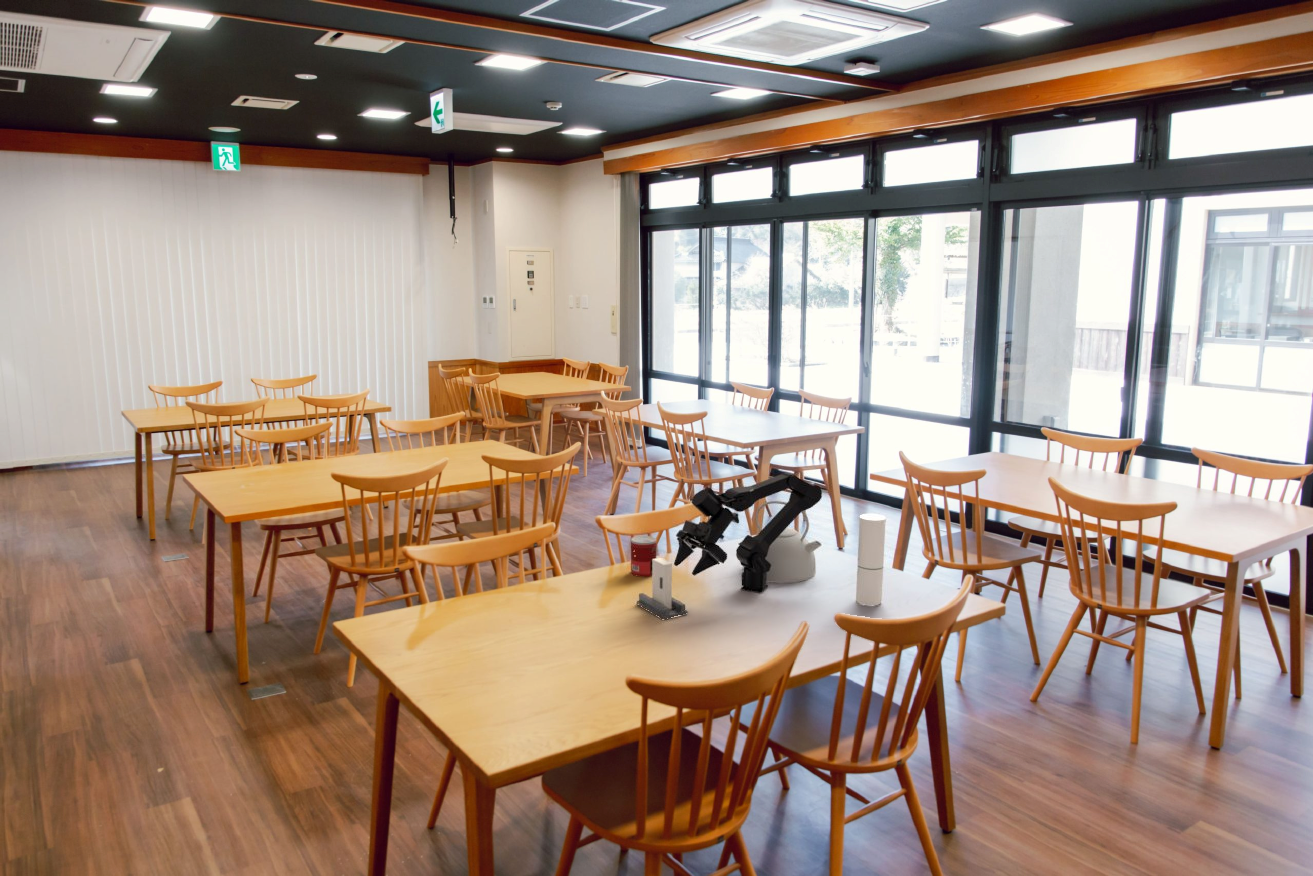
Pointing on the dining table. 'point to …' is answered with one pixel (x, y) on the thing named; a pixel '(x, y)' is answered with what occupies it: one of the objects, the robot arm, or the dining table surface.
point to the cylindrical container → (870, 559)
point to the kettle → (790, 554)
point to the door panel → (662, 581)
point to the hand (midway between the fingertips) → (683, 569)
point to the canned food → (642, 555)
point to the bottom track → (661, 607)
